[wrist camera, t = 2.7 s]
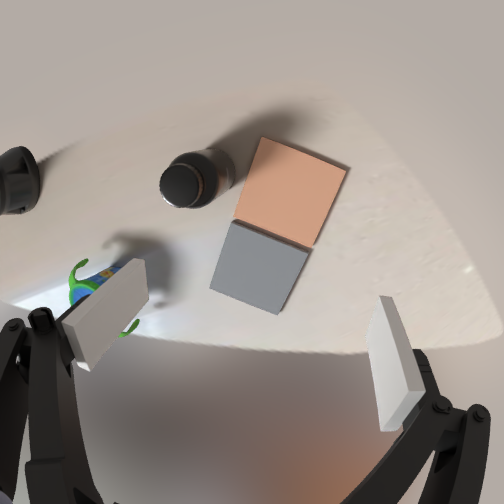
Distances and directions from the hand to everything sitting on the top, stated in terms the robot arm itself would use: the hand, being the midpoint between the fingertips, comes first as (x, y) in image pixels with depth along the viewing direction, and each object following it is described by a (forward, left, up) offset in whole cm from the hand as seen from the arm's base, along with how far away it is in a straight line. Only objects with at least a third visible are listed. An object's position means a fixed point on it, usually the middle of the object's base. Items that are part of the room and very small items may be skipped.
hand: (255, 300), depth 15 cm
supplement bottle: (-11, -1, -27) cm, 29 cm away
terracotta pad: (0, 0, -27) cm, 27 cm away
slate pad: (0, -13, -27) cm, 30 cm away
